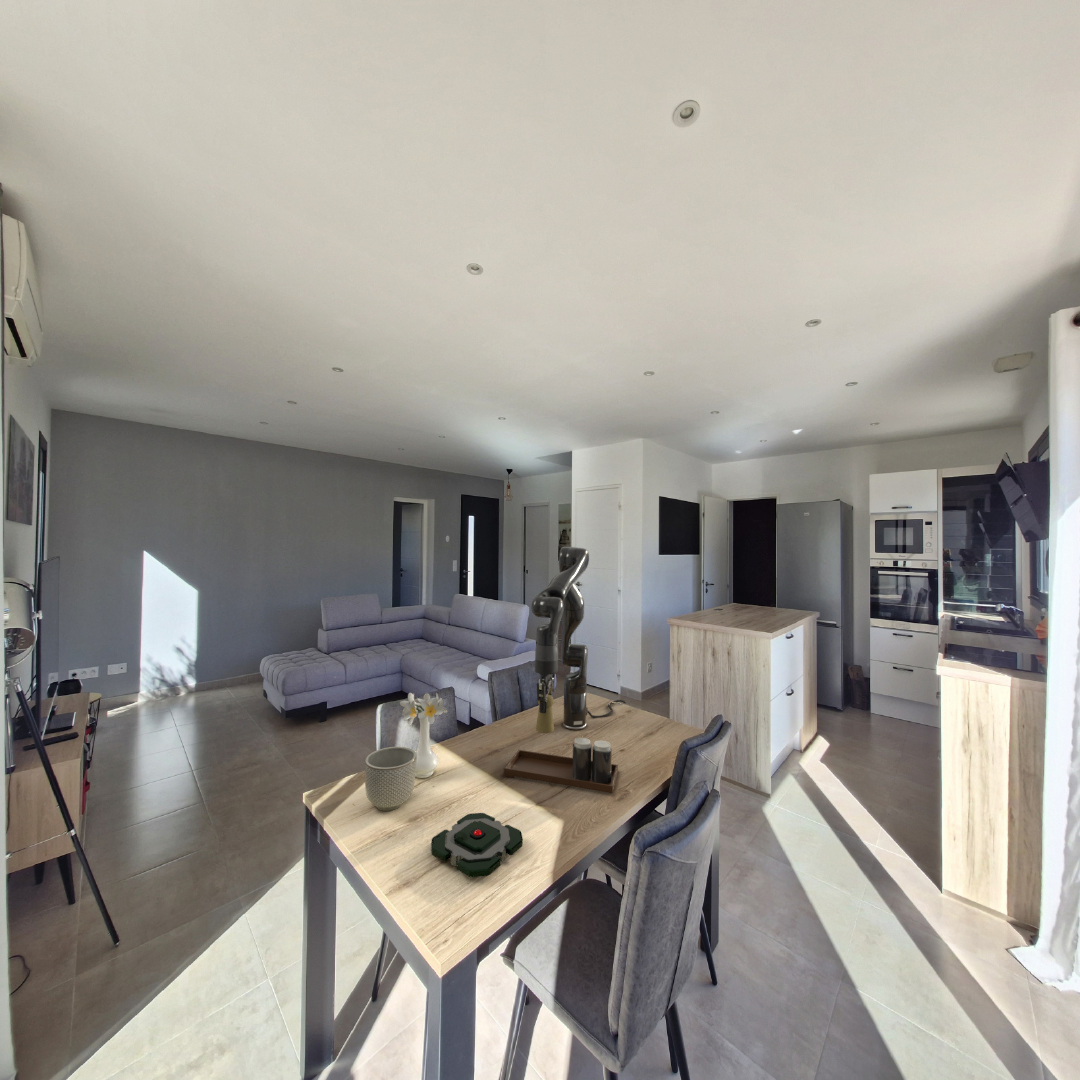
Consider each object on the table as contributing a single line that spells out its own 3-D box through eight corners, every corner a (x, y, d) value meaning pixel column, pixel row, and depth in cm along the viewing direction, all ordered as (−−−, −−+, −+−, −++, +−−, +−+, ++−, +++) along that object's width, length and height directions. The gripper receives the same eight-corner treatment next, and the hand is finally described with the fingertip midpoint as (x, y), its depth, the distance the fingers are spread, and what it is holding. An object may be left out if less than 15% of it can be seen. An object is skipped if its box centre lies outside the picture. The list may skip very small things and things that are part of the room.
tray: (518, 756, 156) (518, 749, 156) (617, 772, 147) (618, 764, 147) (503, 776, 143) (503, 768, 143) (612, 794, 133) (612, 786, 133)
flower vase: (417, 757, 154) (419, 684, 154) (456, 773, 144) (458, 694, 144) (385, 772, 143) (387, 693, 144) (425, 791, 133) (427, 705, 133)
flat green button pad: (475, 818, 120) (475, 800, 120) (529, 844, 110) (530, 825, 110) (422, 854, 105) (422, 834, 105) (479, 889, 95) (480, 867, 95)
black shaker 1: (574, 770, 147) (575, 736, 147) (592, 773, 145) (593, 738, 145) (570, 779, 141) (571, 743, 141) (589, 782, 139) (590, 746, 139)
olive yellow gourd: (554, 726, 150) (555, 693, 150) (553, 733, 144) (554, 698, 144) (536, 725, 150) (537, 692, 151) (534, 732, 144) (535, 697, 145)
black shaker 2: (593, 773, 145) (594, 738, 145) (612, 776, 143) (613, 741, 143) (590, 782, 139) (591, 746, 139) (609, 785, 137) (610, 749, 138)
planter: (425, 804, 126) (426, 757, 126) (377, 825, 116) (378, 774, 116) (400, 785, 136) (401, 742, 136) (354, 803, 126) (356, 756, 126)
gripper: (552, 663, 140) (550, 718, 139) (563, 653, 154) (561, 704, 153) (529, 661, 142) (527, 715, 142) (541, 652, 156) (540, 701, 155)
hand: (545, 709), depth 147 cm, fingers closed on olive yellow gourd, 5 cm apart
